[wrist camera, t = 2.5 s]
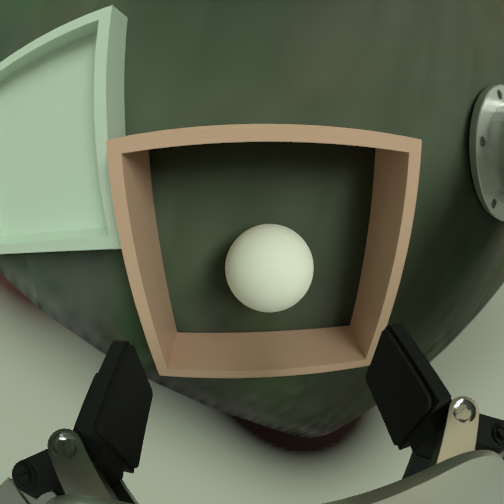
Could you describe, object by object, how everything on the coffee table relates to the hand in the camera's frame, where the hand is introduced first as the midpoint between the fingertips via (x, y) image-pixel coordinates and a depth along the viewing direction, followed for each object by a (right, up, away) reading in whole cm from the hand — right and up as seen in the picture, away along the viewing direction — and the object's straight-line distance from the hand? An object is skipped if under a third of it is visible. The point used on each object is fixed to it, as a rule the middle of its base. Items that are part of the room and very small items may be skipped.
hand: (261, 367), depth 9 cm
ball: (+1, +3, +6) cm, 7 cm away
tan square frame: (+1, +4, +8) cm, 9 cm away
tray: (-16, +12, +4) cm, 20 cm away
